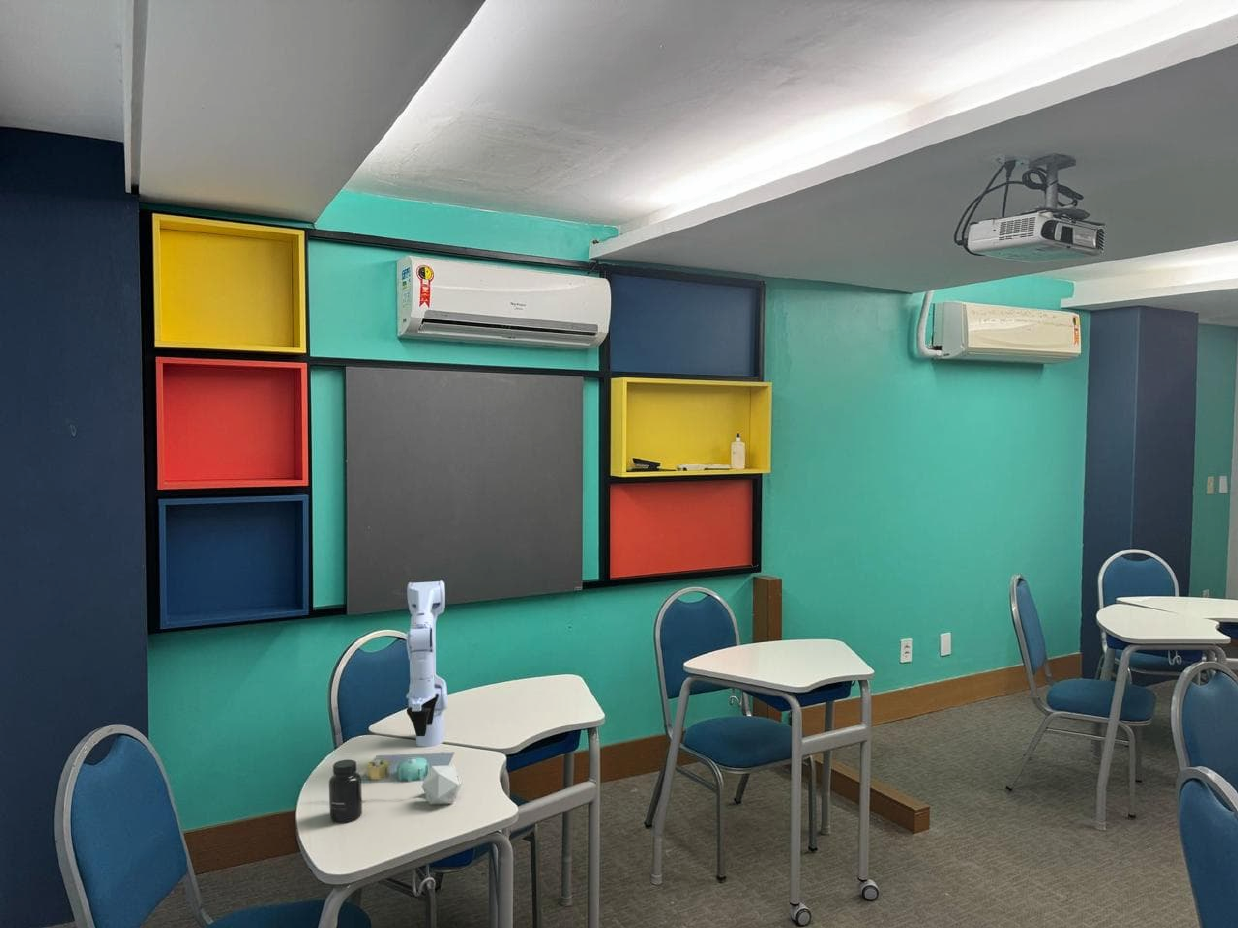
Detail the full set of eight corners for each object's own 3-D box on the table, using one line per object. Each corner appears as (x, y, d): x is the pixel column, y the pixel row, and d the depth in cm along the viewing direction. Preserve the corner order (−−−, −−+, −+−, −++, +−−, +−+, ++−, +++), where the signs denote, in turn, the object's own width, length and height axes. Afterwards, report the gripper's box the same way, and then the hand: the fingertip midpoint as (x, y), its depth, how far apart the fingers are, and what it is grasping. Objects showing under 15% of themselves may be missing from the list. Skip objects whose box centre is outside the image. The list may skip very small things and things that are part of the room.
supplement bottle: (331, 826, 179) (328, 771, 178) (328, 813, 185) (326, 760, 185) (364, 819, 182) (362, 765, 181) (360, 807, 188) (358, 754, 187)
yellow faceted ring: (370, 772, 204) (370, 759, 204) (391, 771, 205) (390, 758, 204) (364, 781, 199) (364, 767, 199) (385, 780, 200) (385, 767, 199)
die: (442, 816, 184) (466, 775, 186) (410, 795, 185) (434, 755, 188) (449, 813, 192) (472, 774, 194) (418, 793, 193) (441, 754, 196)
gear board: (377, 758, 215) (376, 740, 215) (454, 756, 216) (453, 737, 216) (357, 787, 198) (356, 767, 198) (441, 784, 199) (440, 764, 198)
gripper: (413, 668, 214) (415, 719, 215) (398, 685, 200) (400, 741, 201) (440, 667, 214) (442, 719, 215) (427, 684, 200) (430, 740, 201)
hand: (424, 729), depth 208 cm, fingers open, 7 cm apart
